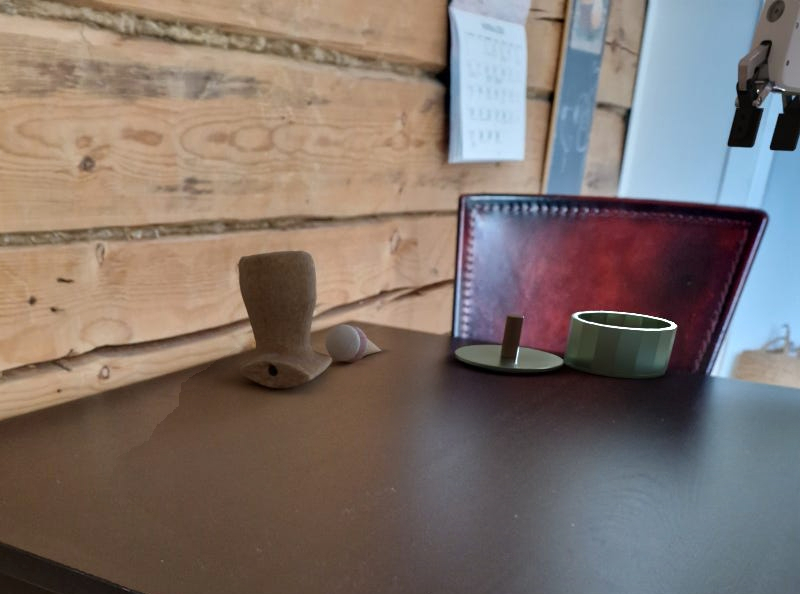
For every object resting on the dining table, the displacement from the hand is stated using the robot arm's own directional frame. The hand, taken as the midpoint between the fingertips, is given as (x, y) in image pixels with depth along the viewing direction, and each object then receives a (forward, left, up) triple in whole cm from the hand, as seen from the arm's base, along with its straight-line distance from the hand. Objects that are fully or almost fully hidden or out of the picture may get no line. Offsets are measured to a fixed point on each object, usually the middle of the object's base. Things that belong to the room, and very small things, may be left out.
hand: (761, 148), depth 105 cm
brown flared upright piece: (+52, -27, -28) cm, 65 cm away
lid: (+17, -20, -28) cm, 38 cm away
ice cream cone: (+36, -32, -28) cm, 56 cm away
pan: (+3, -12, -28) cm, 31 cm away
